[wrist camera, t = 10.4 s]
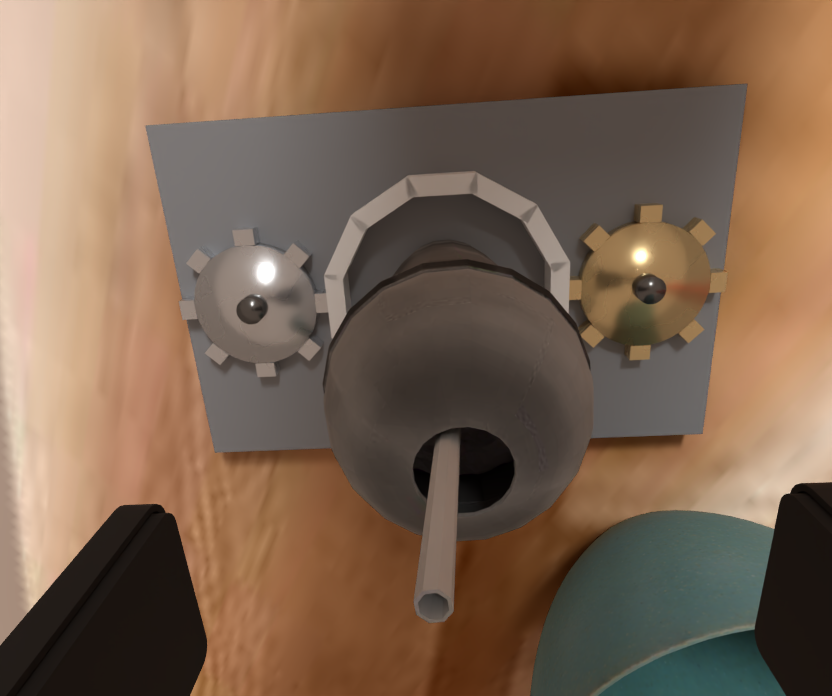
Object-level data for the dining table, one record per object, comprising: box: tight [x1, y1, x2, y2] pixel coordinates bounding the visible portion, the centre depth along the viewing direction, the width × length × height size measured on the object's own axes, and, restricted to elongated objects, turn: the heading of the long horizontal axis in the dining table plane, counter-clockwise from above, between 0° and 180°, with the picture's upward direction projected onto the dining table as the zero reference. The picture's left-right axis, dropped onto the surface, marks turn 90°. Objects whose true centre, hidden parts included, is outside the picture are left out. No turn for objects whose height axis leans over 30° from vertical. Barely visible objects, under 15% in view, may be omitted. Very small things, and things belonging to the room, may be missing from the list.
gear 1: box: [179, 227, 328, 377], centre depth 26 cm, size 7×7×2 cm
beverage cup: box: [322, 239, 594, 623], centre depth 17 cm, size 7×7×20 cm
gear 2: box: [569, 203, 728, 360], centre depth 25 cm, size 7×7×2 cm
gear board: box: [146, 84, 747, 453], centre depth 26 cm, size 16×25×3 cm, turn 94°
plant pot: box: [530, 510, 786, 696], centre depth 27 cm, size 18×18×12 cm
